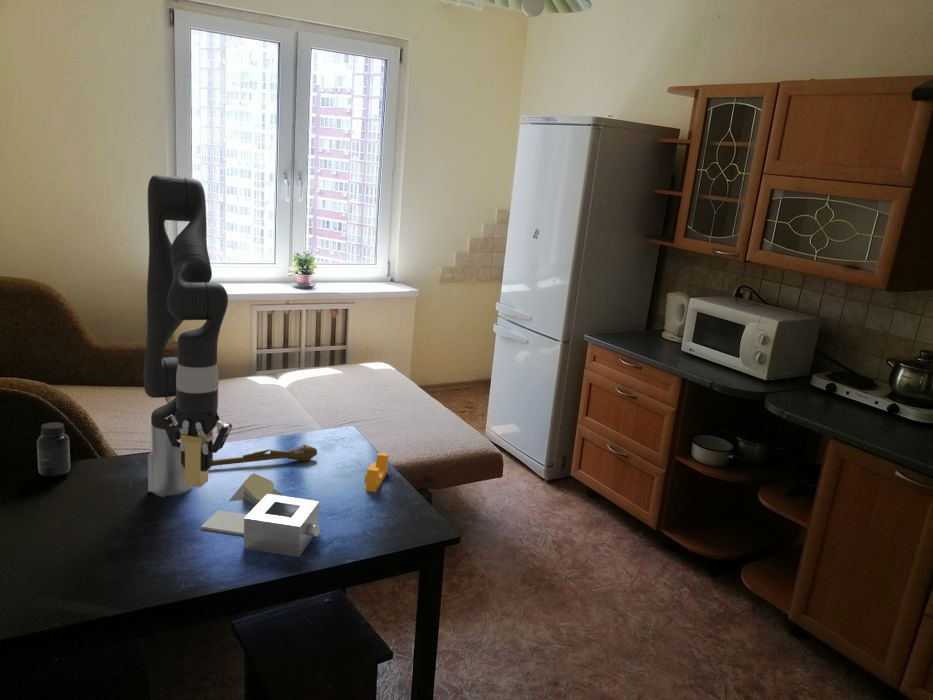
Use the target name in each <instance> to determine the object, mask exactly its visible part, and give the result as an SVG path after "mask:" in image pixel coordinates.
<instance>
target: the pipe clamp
mask: <svg viewBox="0 0 933 700" xmlns="http://www.w3.org/2000/svg"><path fill="white" fill-rule="evenodd" d="M389 454H390V453H389V452H380V451H379V452H378V453H377V454H376V462H371V464H370V465H369V466H368V467H367V469H366V473H365V475H364V476H365V477H364V481H366V482H365V491H366V492H372V493H373V492H374V493H376V492H377V490H378V489H379V488H380V485H381V484H382V482H383V481H384V479H385V478H386V475H387V474H388V467H389V466H388V465H389V464H388V463H389Z"/></svg>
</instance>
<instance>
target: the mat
mask: <svg viewBox="0 0 933 700" xmlns="http://www.w3.org/2000/svg"><path fill="white" fill-rule="evenodd" d="M247 515H248V514H244V513H240V512H239V513H238V512H232V511H227V510H226V511H225V510H219V509H218V510H217V511H215V512H214V513H213V514H212V515H211V516H210V517H209V518H208V519H207V520H206V521H205V522H204V523H203V524H202V525H201V526H200V530H206V531H210V532H211V531H213V532H218V533H225V534H232V535H238V536H243V537H244V518H245V517H246V516H247Z"/></svg>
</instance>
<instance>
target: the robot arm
mask: <svg viewBox="0 0 933 700" xmlns="http://www.w3.org/2000/svg"><path fill="white" fill-rule="evenodd" d="M147 186H148V187H147V221H148V244H149V245H148V269H147V285H146V288H147V289H146V310H147V311H146V313H147V314H146V318H147V319H146V320H147V323H146V325H147V327H146V329H147V330H146V342H145V344H146V345H145V352H144V361H143V363H144V364H143V376H142V377H143V388H144V391H145V394H146V395H147V396H148V397H149V398H153V399H159V398H171V397H174V398H173V399H172V400H170V401H169V402H168V403H165V404H164V405H162V406H161V405H160V407H157V408H155V409H154V410H153V411H152V413H151V415H150V416H151V417H150V421H151V424H150V428H151V430H150V436H151V439H150V440H151V452H150V453H149V454H148V455H147V484H148V486H147V488H148V489H147V490H148V492H149V493H153V494H154V495H155V496H158V497H161V498H165V497H166V496H176V495H181V494H184V493H188V492H190V491H191V490H192V489H193V488H194V486H187V485H185V441H180V435H181V434H186V435H188V434H195V435H198V436H200V437H203V443H202V451H203V454H202V471H205V472H206V471H207V470H208V471H209V470H210V468H212V467H213V466H212V464H213V460H214V458H213V457H214V455H213V454H217V453H218V451H220V450H222V448H223V447H224V445H225V443H226V440H227V439H228V436H229V435H230V434H231V433H230V432H231V430H232V428H233V425H232V423H231V422H229V423H225V422H223V421H222V420H221V419H220V417H219V414H218V408H219V407H218V406H219V382H220V381H219V369H218V343H219V342H218V341H219V336H220V331H221V327H222V325H223V321H224V319H225V315H226V312H227V310H228V309H227V308H228V303H229V296H228V292H227V291H226V288H224V286H223V285H222V284H220V283H218V282H211V280H212V277H213V273H212V272H213V271H212V266H211V260H210V256H209V251H208V241H207V235H208V234H207V232H208V231H207V230H208V228H207V223H208V222H207V205H206V204H207V203H206V194H205V189H204V186H203V183H202V182H201V181H200V180H199V179H196V178H191V177H183V176H173V175H162V174H155V175H152V176H151V177H150V179H149V181H148V185H147ZM166 221H174V222H188V223H187V225H186V226H185V228H183V229H182V230H181V232H180V233H178V235H176V237H175V239H174V240H173V242H171V240H170V238H169V235H168V234H167V231H166V225H165V222H166ZM184 321H205V322H204V323H203V325H202V326H200V327H198V328H195V329H191V330H188V331H184V332H181V334H179V335H178V338H177V356H170V357H168V356H167V357H163V356H164V352H165V349H166V347H167V344H168V343H169V341H170V340H171V338H172V336H173V335H174V334H175V332H176V331H177V329H178V328H179V327H180V326H181V324H183V322H184ZM215 428H216V433H217V436H216V438H215V437H214V429H215ZM210 432H211V434H210V436H209V437H207V438H206V436H207V435H208V434H209V433H210ZM205 435H206V436H205ZM214 438H215V440H214Z"/></svg>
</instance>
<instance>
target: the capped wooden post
mask: <svg viewBox="0 0 933 700" xmlns="http://www.w3.org/2000/svg"><path fill="white" fill-rule="evenodd" d="M210 434H211V432H210V433H209V434H208V435H207V436H206V435H205V436H206V438H207V437H209V436H210ZM180 441H185V485H187V486H193V488H194V487H195V488H201V487H203V486H204V485H205V484H206V483H208V482H209V469H208V470H207V471H206V472H205V471H202V454H203V451H202V443H203V437H200V436H198V435H195V434H188V435H186V434H181V435H180Z"/></svg>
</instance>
